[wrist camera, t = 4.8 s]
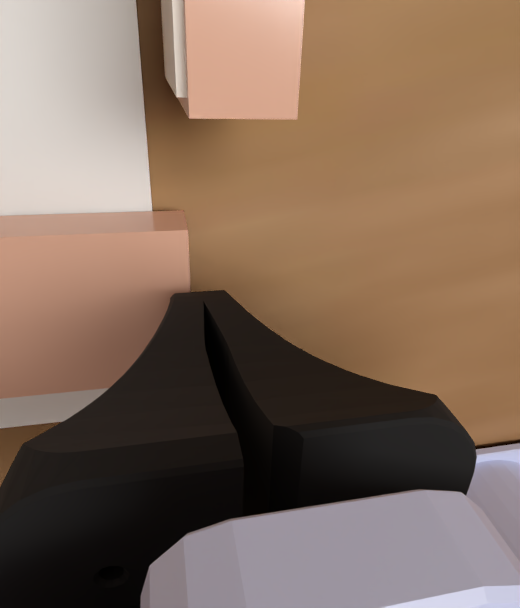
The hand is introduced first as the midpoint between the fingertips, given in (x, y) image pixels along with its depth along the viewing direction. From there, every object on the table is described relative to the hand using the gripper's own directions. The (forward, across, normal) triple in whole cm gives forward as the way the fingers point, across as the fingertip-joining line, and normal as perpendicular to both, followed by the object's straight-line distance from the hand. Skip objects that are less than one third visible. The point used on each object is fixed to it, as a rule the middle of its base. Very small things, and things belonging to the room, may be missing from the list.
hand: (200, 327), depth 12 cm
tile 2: (+2, 0, 0) cm, 2 cm away
